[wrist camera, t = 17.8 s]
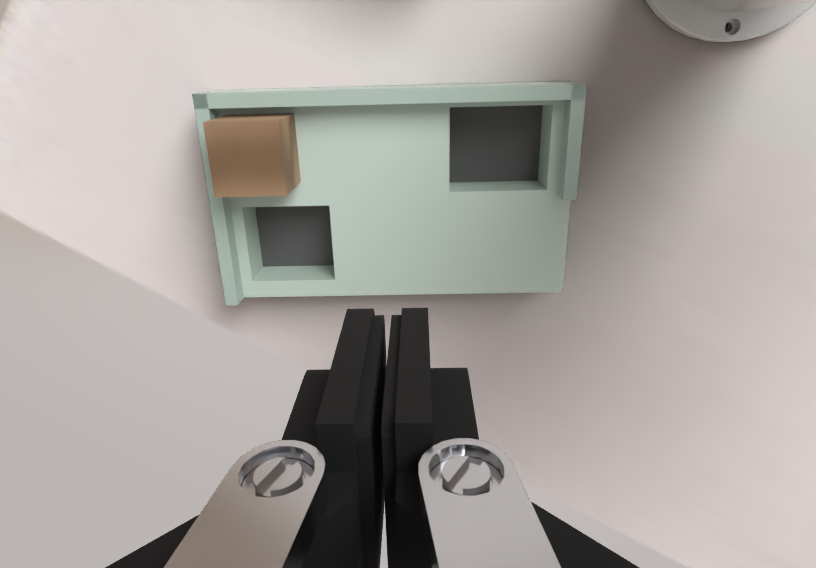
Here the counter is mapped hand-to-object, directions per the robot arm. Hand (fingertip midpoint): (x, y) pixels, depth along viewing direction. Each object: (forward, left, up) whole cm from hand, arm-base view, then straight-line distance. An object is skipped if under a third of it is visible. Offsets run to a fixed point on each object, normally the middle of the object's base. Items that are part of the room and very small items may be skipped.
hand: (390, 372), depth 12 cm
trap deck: (+2, -1, -27) cm, 27 cm away
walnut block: (-1, -9, -24) cm, 26 cm away
